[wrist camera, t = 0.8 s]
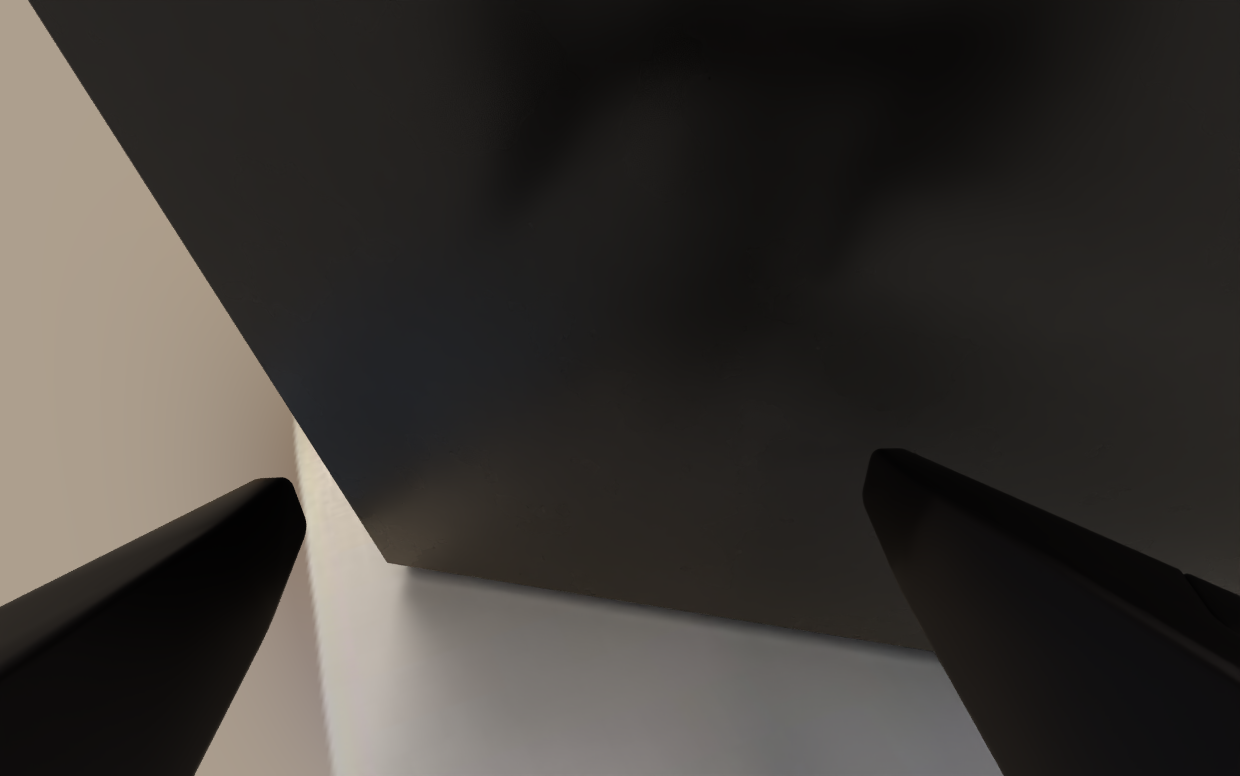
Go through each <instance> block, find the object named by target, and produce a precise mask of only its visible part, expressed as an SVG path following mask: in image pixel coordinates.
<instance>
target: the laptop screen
mask: <svg viewBox="0 0 1240 776" xmlns="http://www.w3.org/2000/svg"><path fill="white" fill-rule="evenodd" d="M28 1H29V2H30V4H31V6H32V7H33V9H34V10H35V12H36V13H37V15H38V16H39V18H40V20H41V21H42V23H43V24H44V26H45V27H46V29H47V30H48V32H49V34H50V35H51V37H52V38H53V40H54V42H55V43H56V45H57V46H58V48H59V49H60V51H61V53H62V54H63V56H64V57H65V59H66V60H67V62H68V63H69V65H70V66H71V68H72V70H73V71H74V73H75V74H76V76H77V78H78V79H79V81H80V82H81V84H82V85H83V87H84V89H85V90H86V92H87V93H88V95H89V96H90V98H91V100H92V101H93V103H94V104H95V106H96V107H97V109H98V110H99V112H100V114H101V115H102V117H103V118H104V120H105V121H106V123H107V125H108V126H109V127H110V129H111V131H112V132H113V134H114V136H115V137H116V138H117V140H118V142H119V143H120V145H121V146H122V148H123V150H124V151H125V153H126V154H127V156H128V157H129V159H130V161H131V162H132V163H133V165H134V167H135V168H136V170H137V172H138V173H139V175H140V176H141V178H142V179H143V181H144V183H145V184H146V186H147V187H148V189H149V190H150V192H151V193H152V195H153V197H154V198H155V200H156V201H157V203H158V204H159V206H160V208H161V209H162V211H163V212H164V214H165V215H166V217H167V218H168V220H169V222H170V223H171V225H172V226H173V228H174V229H175V231H176V232H177V234H178V236H179V237H180V239H181V240H182V242H183V243H184V245H185V247H186V248H187V250H188V251H189V253H190V255H191V256H192V258H193V259H194V261H195V262H196V264H197V266H198V267H199V269H200V270H201V272H202V273H203V275H204V276H205V278H206V280H207V281H208V283H209V284H210V286H211V287H212V289H213V291H214V292H215V294H216V295H217V297H218V298H219V300H220V302H221V303H222V305H223V306H224V308H225V309H226V311H227V312H228V314H229V316H230V317H231V319H232V320H233V322H234V323H235V325H236V327H237V328H238V330H239V331H240V333H241V334H242V336H243V338H244V339H245V341H246V342H247V344H248V345H249V347H250V348H251V350H252V352H253V353H254V355H255V356H256V358H257V359H258V361H259V363H260V364H261V366H262V367H263V369H264V371H265V372H266V374H267V375H268V377H269V378H270V380H271V381H272V383H273V385H274V386H275V388H276V389H277V391H278V392H279V394H280V396H281V397H282V398H283V400H284V402H285V403H286V405H287V406H288V408H289V410H290V411H291V413H292V414H293V416H294V417H295V419H296V421H297V422H298V424H299V425H300V427H301V428H302V430H303V432H304V433H305V435H306V436H307V438H308V439H309V441H310V443H311V444H312V446H313V447H314V449H315V450H316V452H317V454H318V455H319V457H320V458H321V460H322V461H323V463H324V464H325V466H326V468H327V469H328V471H329V472H330V474H331V475H332V477H333V479H334V480H335V482H336V483H337V485H338V486H339V488H340V490H341V491H342V493H343V494H344V496H345V497H346V499H347V501H348V502H349V504H350V505H351V507H352V508H353V510H354V511H355V513H356V515H357V516H358V518H359V519H360V521H361V522H362V524H363V526H364V527H365V529H366V530H367V532H368V533H369V535H370V537H371V538H372V540H373V541H374V543H375V544H376V546H377V548H378V549H379V551H380V552H381V554H382V555H383V557H384V558H385V560H386V562H387V563H392V564H398V565H404V566H410V567H416V568H423V569H429V570H435V571H441V572H447V573H453V574H460V575H466V576H472V577H478V578H484V579H490V580H496V581H503V582H509V583H515V584H521V585H527V586H533V587H540V588H546V589H552V590H558V591H564V592H570V593H577V594H583V595H589V596H595V597H601V598H607V599H613V600H620V601H626V602H632V603H638V604H644V605H650V606H657V607H663V608H669V609H675V610H681V611H687V612H694V613H700V614H706V615H712V616H718V617H724V618H731V619H737V620H743V621H749V622H755V623H761V624H767V625H774V626H780V627H786V628H792V629H798V630H804V631H811V632H817V633H823V634H829V635H835V636H841V637H848V638H854V639H860V640H866V641H872V642H878V643H884V644H891V645H897V646H903V647H909V648H915V649H921V650H928V651H934V650H933V648H932V646H931V645H930V643H929V641H928V639H927V638H926V636H925V634H924V632H923V630H922V629H921V627H920V625H919V623H918V621H917V620H916V618H915V616H914V614H913V613H912V611H911V609H910V607H909V605H908V603H907V602H906V600H905V598H904V596H903V594H902V592H901V590H900V588H899V586H898V584H897V581H896V579H895V577H894V575H893V573H892V570H891V568H890V566H889V563H888V561H887V559H886V556H885V554H884V552H883V549H882V547H881V545H880V542H879V540H878V538H877V535H876V533H875V531H874V528H873V526H872V524H871V521H870V519H869V517H868V514H867V512H866V510H865V507H864V504H863V499H862V491H863V486H864V482H865V477H866V473H867V469H868V464H869V460H870V457H871V454H872V453H873V452H874V451H875V450H877V449H882V448H903V449H906V450H908V451H911V452H913V453H915V454H917V455H920V456H922V457H924V458H926V459H929V460H931V461H933V462H936V463H938V464H940V465H942V466H945V467H947V468H949V469H952V470H954V471H956V472H958V473H961V474H963V475H965V476H968V477H970V478H972V479H974V480H977V481H979V482H981V483H984V484H986V485H988V486H990V487H993V488H995V489H997V490H1000V491H1002V492H1004V493H1006V494H1009V495H1011V496H1013V497H1015V498H1018V499H1020V500H1022V501H1025V502H1027V503H1029V504H1031V505H1034V506H1036V507H1038V508H1041V509H1043V510H1045V511H1047V512H1050V513H1052V514H1054V515H1057V516H1059V517H1061V518H1063V519H1066V520H1068V521H1070V522H1073V523H1075V524H1077V525H1079V526H1082V527H1084V528H1086V529H1088V530H1091V531H1093V532H1095V533H1098V534H1100V535H1102V536H1104V537H1107V538H1109V539H1111V540H1114V541H1116V542H1118V543H1120V544H1123V545H1125V546H1127V547H1130V548H1132V549H1134V550H1136V551H1139V552H1141V553H1143V554H1146V555H1148V556H1150V557H1152V558H1155V559H1157V560H1159V561H1162V562H1164V563H1166V564H1168V565H1171V566H1173V567H1175V568H1178V569H1179V570H1180V571H1181V572H1182V573H1183V574H1186V573H1188V574H1192V575H1194V576H1196V577H1198V578H1201V579H1203V580H1205V581H1208V582H1210V583H1212V584H1214V585H1217V586H1219V587H1221V588H1223V589H1226V590H1228V591H1230V592H1233V593H1235V594H1237V595H1240V0H28Z"/></svg>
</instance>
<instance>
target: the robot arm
mask: <svg viewBox="0 0 1240 776" xmlns="http://www.w3.org/2000/svg"><path fill="white" fill-rule="evenodd" d="M862 499H863V504H864V507H865V510H866V512H867V514H868V517H869V519H870V521H871V524H872V526H873V528H874V531H875V533H876V535H877V538H878V540H879V542H880V545H881V547H882V549H883V552H884V554H885V556H886V559H887V561H888V563H889V566H890V568H891V570H892V573H893V575H894V577H895V579H896V581H897V584H898V586H899V588H900V590H901V592H902V594H903V596H904V598H905V600H906V602H907V603H908V605H909V607H910V609H911V611H912V613H913V614H914V616H915V618H916V620H917V621H918V623H919V625H920V627H921V629H922V630H923V632H924V634H925V636H926V638H927V639H928V641H929V643H930V645H931V646H932V648H933V650H934V652H935V654H936V655H937V657H938V659H939V661H940V663H941V664H942V666H943V668H944V670H945V671H946V673H947V675H948V677H949V679H950V680H951V682H952V684H953V686H954V688H955V689H956V691H957V693H958V695H959V697H960V698H961V700H962V702H963V704H964V705H965V707H966V709H967V711H968V713H969V714H970V716H971V718H972V720H973V722H974V723H975V725H976V727H977V729H978V730H979V732H980V734H981V736H982V738H983V739H984V741H985V743H986V745H987V747H988V748H989V750H990V752H991V754H992V756H993V757H994V759H995V761H996V763H997V764H998V766H999V768H1000V770H1001V772H1002V773H1003V775H1004V776H1240V595H1237V594H1235V593H1233V592H1230V591H1228V590H1226V589H1223V588H1221V587H1219V586H1217V585H1214V584H1212V583H1210V582H1208V581H1205V580H1203V579H1201V578H1198V577H1196V576H1194V575H1192V574H1188V573H1186V574H1183V573H1182V572H1181V571H1180V570H1179V569H1178V568H1175V567H1173V566H1171V565H1168V564H1166V563H1164V562H1162V561H1159V560H1157V559H1155V558H1152V557H1150V556H1148V555H1146V554H1143V553H1141V552H1139V551H1136V550H1134V549H1132V548H1130V547H1127V546H1125V545H1123V544H1120V543H1118V542H1116V541H1114V540H1111V539H1109V538H1107V537H1104V536H1102V535H1100V534H1098V533H1095V532H1093V531H1091V530H1088V529H1086V528H1084V527H1082V526H1079V525H1077V524H1075V523H1073V522H1070V521H1068V520H1066V519H1063V518H1061V517H1059V516H1057V515H1054V514H1052V513H1050V512H1047V511H1045V510H1043V509H1041V508H1038V507H1036V506H1034V505H1031V504H1029V503H1027V502H1025V501H1022V500H1020V499H1018V498H1015V497H1013V496H1011V495H1009V494H1006V493H1004V492H1002V491H1000V490H997V489H995V488H993V487H990V486H988V485H986V484H984V483H981V482H979V481H977V480H974V479H972V478H970V477H968V476H965V475H963V474H961V473H958V472H956V471H954V470H952V469H949V468H947V467H945V466H942V465H940V464H938V463H936V462H933V461H931V460H929V459H926V458H924V457H922V456H920V455H917V454H915V453H913V452H911V451H908V450H906V449H903V448H882V449H877V450H875V451H874V452H873V453H872V454H871V457H870V460H869V464H868V469H867V473H866V477H865V482H864V486H863V491H862ZM305 533H306V519H305V516H304V513H303V511H302V508H301V505H300V503H299V500H298V497H297V494H296V492H295V489H294V487H293V484H292V483H291V482H290V481H289V480H288V479H286V478H283V477H280V478H260V479H256V480H253V481H251V482H249V483H247V484H245V485H243V486H241V487H239V488H237V489H235V490H233V491H231V492H229V493H227V494H225V495H223V496H221V497H219V498H217V499H215V500H213V501H211V502H209V503H207V504H205V505H203V506H201V507H199V508H197V509H195V510H193V511H191V512H189V513H187V514H185V515H183V516H181V517H179V518H177V519H175V520H173V521H171V522H169V523H167V524H165V525H163V526H161V527H159V528H158V529H155V530H153V531H151V532H149V533H147V534H145V535H143V536H141V537H139V538H137V539H135V540H133V541H131V542H129V543H127V544H125V545H123V546H121V547H119V548H117V549H115V550H113V551H111V552H109V553H107V554H105V555H103V556H101V557H99V558H97V559H95V560H93V561H91V562H89V563H87V564H85V565H83V566H81V567H79V568H77V569H75V570H73V571H71V572H69V573H67V574H65V575H63V576H61V577H59V578H57V579H55V580H53V581H51V582H49V583H47V584H45V585H43V586H41V587H39V588H37V589H35V590H33V591H31V592H29V593H27V594H25V595H23V596H21V597H19V598H17V599H15V600H13V601H11V602H9V603H7V604H5V605H3V606H1V607H0V776H194V775H195V773H196V771H197V769H198V767H199V765H200V763H201V761H202V759H203V757H204V755H205V753H206V751H207V749H208V747H209V745H210V743H211V742H212V740H213V738H214V736H215V734H216V731H217V730H218V728H219V726H220V724H221V722H222V720H223V718H224V716H225V714H226V712H227V710H228V708H229V706H230V704H231V702H232V700H233V698H234V696H235V694H236V693H237V691H238V689H239V687H240V685H241V683H242V681H243V679H244V677H245V675H246V673H247V671H248V669H249V667H250V665H251V663H252V661H253V659H254V657H255V655H256V653H257V651H258V649H259V647H260V645H261V643H262V641H263V639H264V637H265V635H266V633H267V631H268V629H269V626H270V624H271V622H272V619H273V617H274V614H275V612H276V609H277V607H278V604H279V602H280V599H281V597H282V594H283V591H284V589H285V586H286V584H287V581H288V578H289V576H290V573H291V571H292V568H293V565H294V563H295V560H296V558H297V555H298V552H299V550H300V547H301V545H302V542H303V540H304V537H305Z"/></svg>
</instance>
